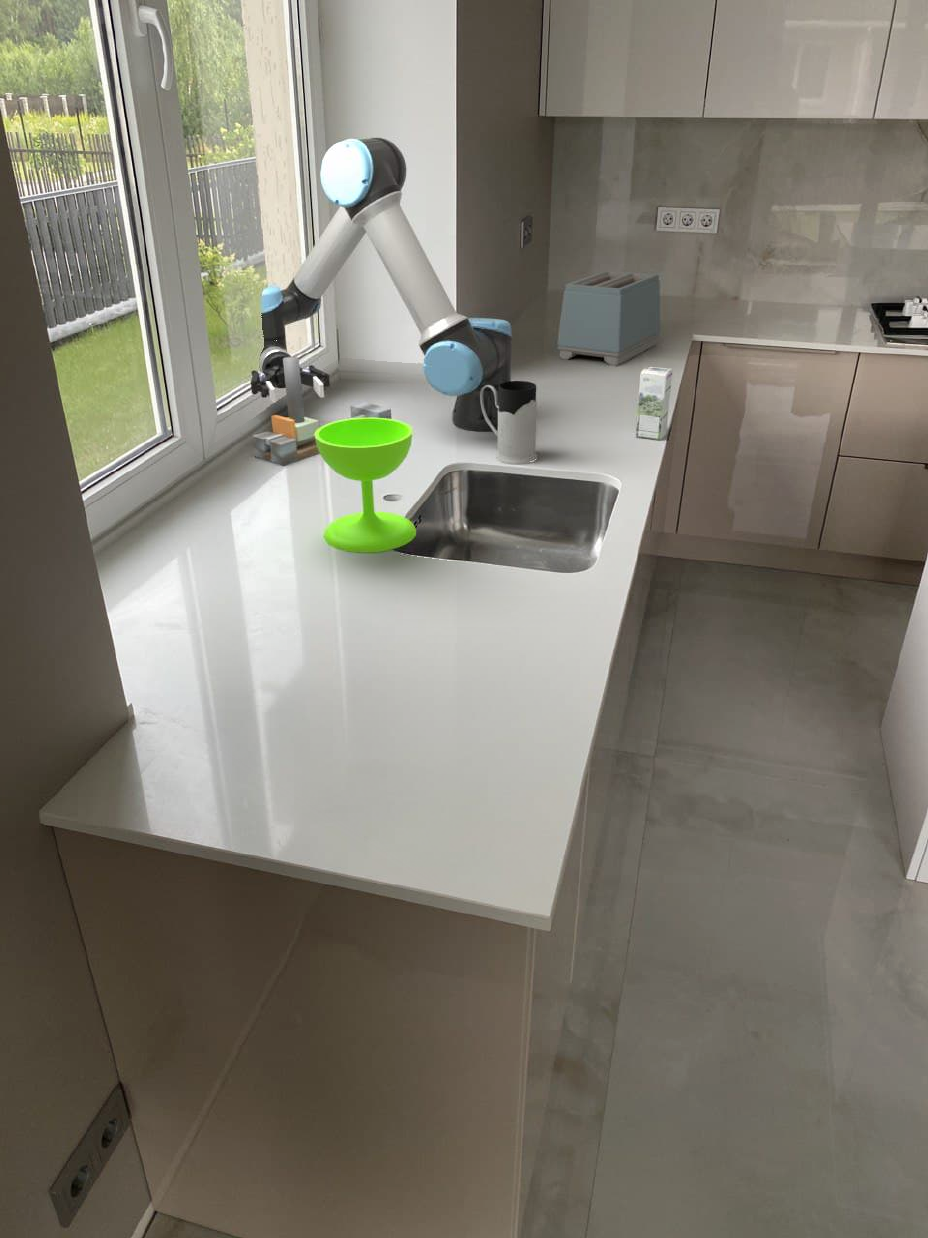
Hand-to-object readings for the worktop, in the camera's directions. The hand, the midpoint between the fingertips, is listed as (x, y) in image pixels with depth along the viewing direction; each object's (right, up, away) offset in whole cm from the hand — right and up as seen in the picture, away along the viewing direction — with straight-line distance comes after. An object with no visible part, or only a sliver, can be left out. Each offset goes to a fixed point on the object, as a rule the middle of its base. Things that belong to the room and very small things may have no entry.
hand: (297, 393), depth 192 cm
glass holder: (+43, -11, +7) cm, 45 cm away
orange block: (-5, -9, +5) cm, 11 cm away
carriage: (-1, -7, +9) cm, 11 cm away
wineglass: (+17, -31, -28) cm, 46 cm away
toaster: (+77, +33, +87) cm, 121 cm away
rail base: (+3, -7, +15) cm, 17 cm away
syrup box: (+75, -6, +17) cm, 77 cm away
